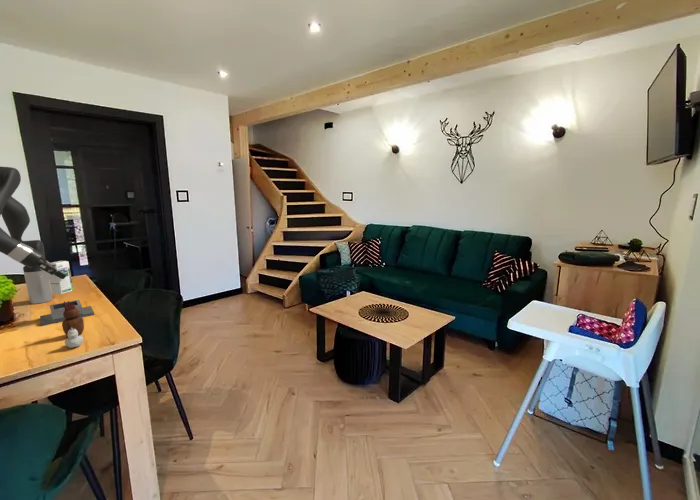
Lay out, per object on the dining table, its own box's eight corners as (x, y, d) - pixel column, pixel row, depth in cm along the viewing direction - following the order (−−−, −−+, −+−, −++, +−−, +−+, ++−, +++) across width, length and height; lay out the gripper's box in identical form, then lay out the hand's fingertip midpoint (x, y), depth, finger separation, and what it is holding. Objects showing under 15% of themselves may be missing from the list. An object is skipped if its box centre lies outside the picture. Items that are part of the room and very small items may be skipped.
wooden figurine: (67, 339, 134) (61, 303, 131) (62, 336, 137) (55, 301, 134) (87, 333, 140) (82, 298, 137) (81, 330, 143) (76, 296, 140)
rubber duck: (65, 351, 124) (61, 330, 123) (66, 345, 129) (62, 325, 128) (84, 347, 127) (80, 327, 126) (83, 341, 132) (80, 321, 131)
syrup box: (61, 294, 154) (56, 263, 152) (51, 293, 155) (45, 263, 153) (74, 290, 160) (69, 260, 157) (63, 290, 161) (58, 260, 158)
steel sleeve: (40, 318, 158) (38, 306, 157) (90, 308, 171) (89, 297, 170) (40, 326, 149) (38, 313, 148) (94, 314, 161) (92, 303, 160)
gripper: (32, 250, 144) (72, 271, 153) (32, 246, 154) (69, 267, 164) (17, 264, 141) (58, 285, 151) (18, 259, 151) (56, 279, 161)
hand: (64, 275), depth 157 cm, fingers closed on syrup box, 7 cm apart
